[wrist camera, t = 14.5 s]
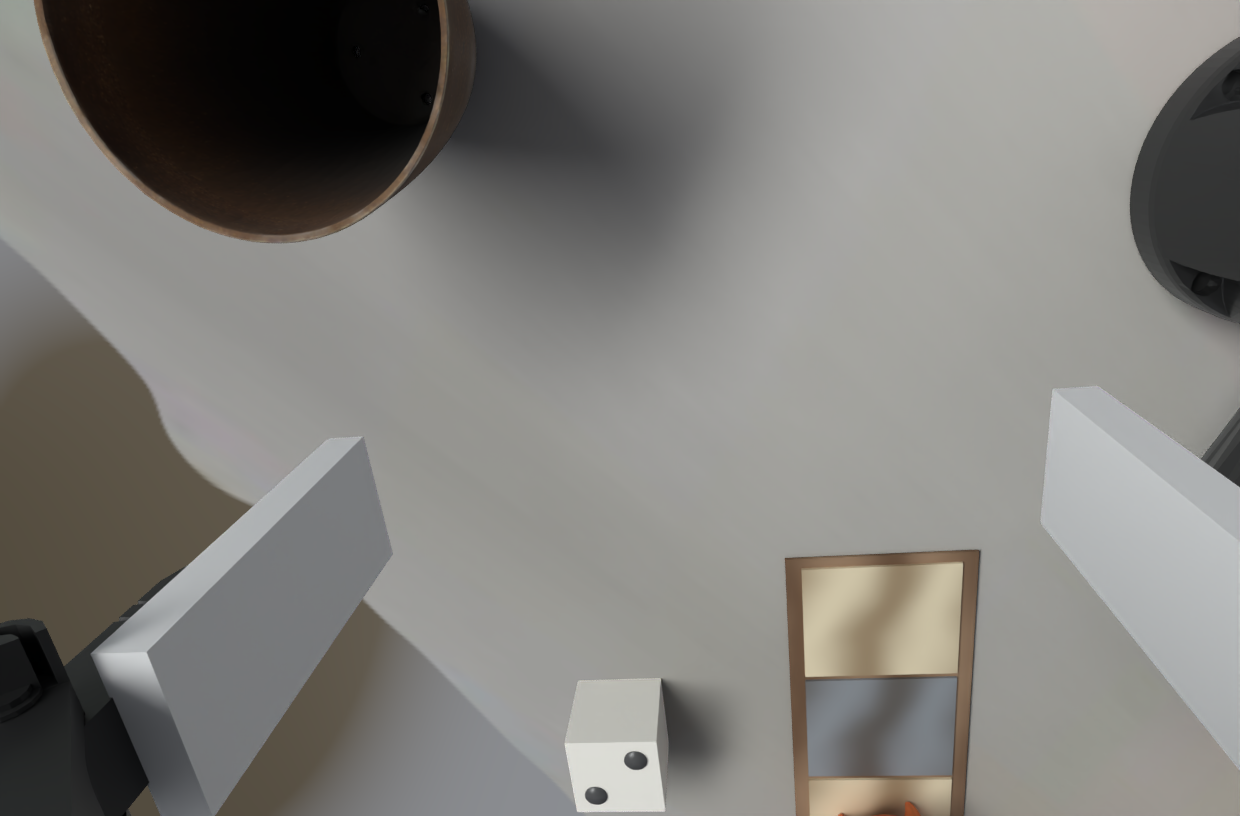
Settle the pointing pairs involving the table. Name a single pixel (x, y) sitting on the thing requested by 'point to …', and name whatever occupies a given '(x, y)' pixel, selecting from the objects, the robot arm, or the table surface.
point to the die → (618, 746)
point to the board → (881, 681)
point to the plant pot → (264, 102)
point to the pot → (910, 811)
